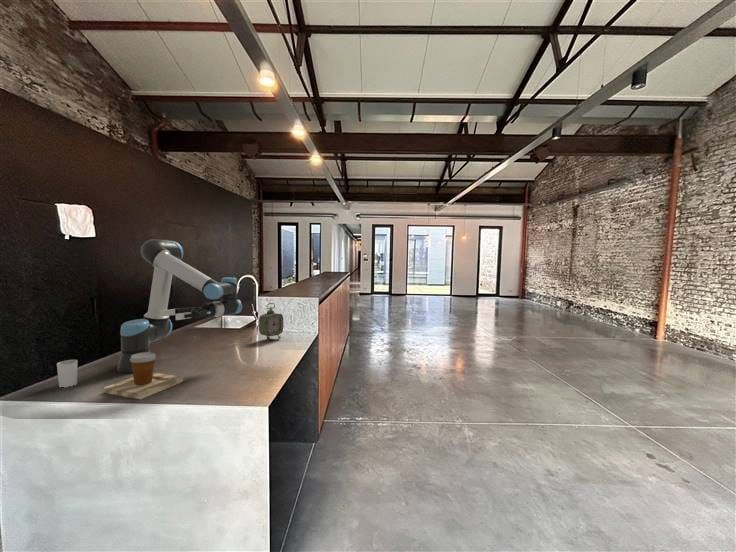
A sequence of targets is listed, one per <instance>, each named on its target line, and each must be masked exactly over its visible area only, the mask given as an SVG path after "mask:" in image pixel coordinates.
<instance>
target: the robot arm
mask: <svg viewBox="0 0 736 552" xmlns="http://www.w3.org/2000/svg"><path fill="white" fill-rule="evenodd" d="M140 254H141V257H142V259H144V260H145V261H146V262H147V263H149V264H150V265H152V266H153V276H152V281H151V282H152V283H151V287H150V295H149V302H148V309H147V312H146V313H145V314H143V318H140V319H139V318H138V319H137V318H136V319H132V320H128V321H125V322H123V323H122V324H121V325H120V331H119V334H120V351H121V353H120V358H119V361H118V364H117V366H116V368H117V369H116V370H117V372H118V373H124V374H127V373H133V371H132V364H131V361H130V358H131V356H132V355H134V354H137V353H144V352H151V350H150V349H151V347H150V346H151V345H150V344H151V343H153V342H156V341H160V340H163V339H164V338H166V337H168V336H169V335H170V334H171V332H172V330H173V323H172V322H171V319H170V316H174V317H175V321H180V320H186V319H189V320H190V319H199V318H200V319H201V318H204V319H210V318H216V319H217V318H219V317H223V316H229V315H232V316H233V315H235V314H236V315H237V314H239V313H241V311H242V310H243V304H242V301H241V300H240V299H238V280H237V278H236V277H222V278H221V281H220V282H219V281H216V280H215V279H213V278H211V277H209V276H208V275H206V274H204V273H203V272H201V271H199V270H198V269H196V268H194V267H193V266H191V265H189V264H188V263H185V262H184V261H182V260H183V257H184V249H183V247H182V246H181V244H180V243H179V242H177V241H174V240H170V239H159V238H158V239H156V238H154V239H149V240H146V241H145V242H144V243H143V244H142V245H141V247H140ZM173 276H175V277H176V278H178V279H180V280H181V281H183V282H185V283H187V284H188V285H191V287H194V288H195V289H197V290H199V291H200V292H202V293H203V295H204V297H205V298H206V299H208V300H218V299H221V301H212V302H211V301H210V302H204V303H202V304H201V306H192V307H177V308H175V307H174V308H172V309H168V307H169V306H168V305H169V299H170V293H171V285H172V279H173Z"/></svg>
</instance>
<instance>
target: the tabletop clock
mask: <svg viewBox="0 0 736 552" xmlns="http://www.w3.org/2000/svg"><path fill="white" fill-rule="evenodd" d="M269 305H273V307H272V306H270V308H269V307H268V306H269ZM275 307H276V305H275V303H274V302H269V303H267V305H266V309H267V312H266V313H263V314H261V315H260V316H259V317H258V331H259V334H260V335H261V336H266V340H265V342H266V343H269V340H271V339H270V338H271V337H275V336H277V337H278V339H279V340H280V339H282V338H281V336H280V335H281V334H283V332H284V316H283V313H278V312H276V311H275V310H274V308H275ZM268 339H269V340H268Z"/></svg>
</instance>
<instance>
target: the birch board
mask: <svg viewBox="0 0 736 552" xmlns="http://www.w3.org/2000/svg"><path fill="white" fill-rule="evenodd" d="M183 382H184V377H183V376H181V375H180V376H179V375H173V374H165V373H160V372H159V373H158V372H153V377H152V382H151V383H148V384H144V385H135V383H134V377H130V378H127V379H124V380H121V381H119V382H118V381H117V382H116V383H113V384H110V385H107V386H104V387H103V393H104V394H109V395H113V394H114V395H113V396H119V397H125V398H131V399H137V400H143V399H144V398H147V397H149V396H152V395H155V394H157V393H159V392H161V391H164V390H166V389H169V388H171V387H174V386H176V385H178V384H181V383H183Z"/></svg>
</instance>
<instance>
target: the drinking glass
mask: <svg viewBox="0 0 736 552" xmlns="http://www.w3.org/2000/svg"><path fill="white" fill-rule="evenodd" d="M56 369H57V370H56V371H57V379H58V386H59V388H61V387H64V388H69V386H70V387H74V386H76V385H78V359H68V360H67V359H66V360H62V361H59V362H56ZM73 385H74V386H73Z"/></svg>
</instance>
